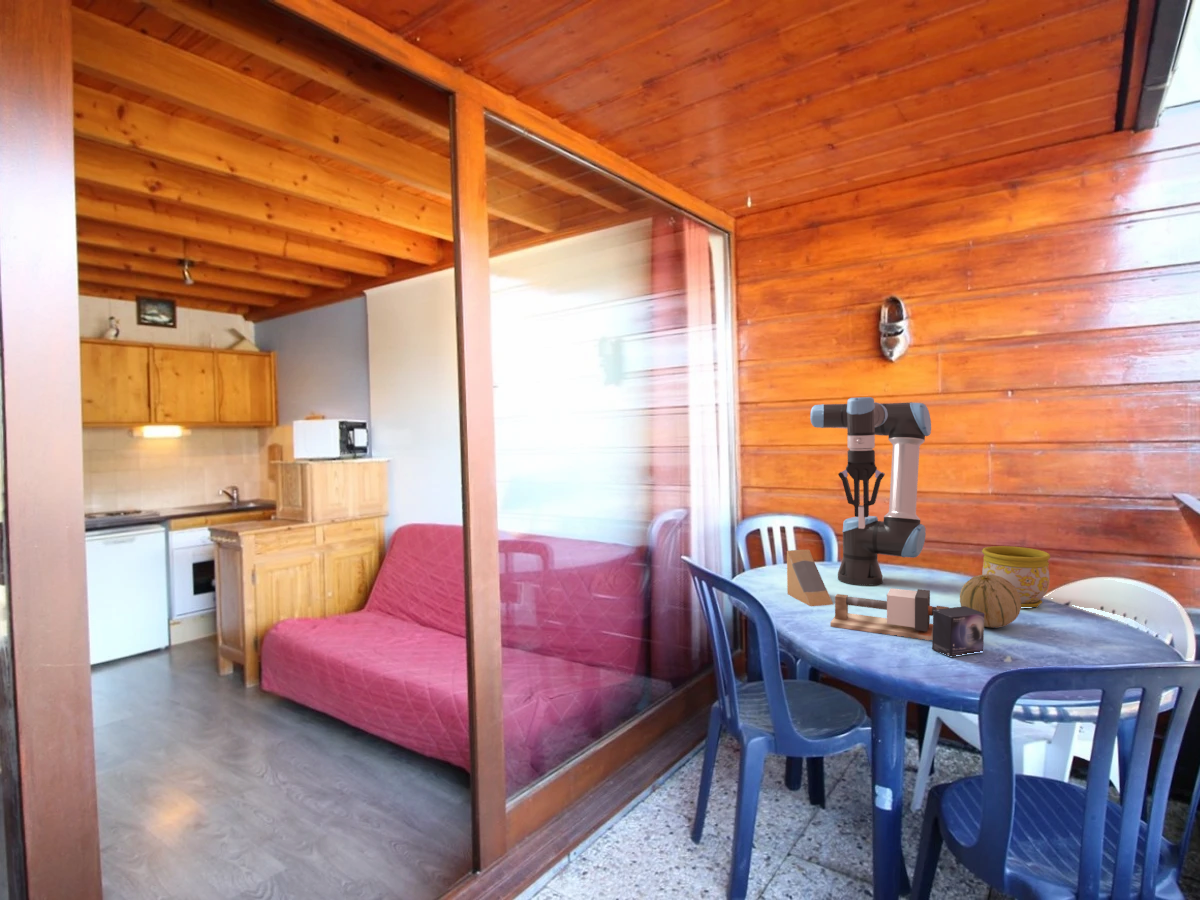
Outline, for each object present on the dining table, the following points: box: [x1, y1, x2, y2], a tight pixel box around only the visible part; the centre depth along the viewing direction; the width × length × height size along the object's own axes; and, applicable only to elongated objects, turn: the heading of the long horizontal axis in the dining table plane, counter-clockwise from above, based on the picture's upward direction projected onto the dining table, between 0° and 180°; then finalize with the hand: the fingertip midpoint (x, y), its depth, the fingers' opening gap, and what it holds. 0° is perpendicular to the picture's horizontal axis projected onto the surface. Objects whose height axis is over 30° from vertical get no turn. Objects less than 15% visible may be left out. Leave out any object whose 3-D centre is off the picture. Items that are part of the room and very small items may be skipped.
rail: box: [830, 593, 950, 641], centre depth 181 cm, size 30×11×8 cm, turn 59°
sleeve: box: [886, 588, 917, 628], centre depth 179 cm, size 7×8×8 cm
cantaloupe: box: [959, 574, 1021, 629], centre depth 182 cm, size 15×15×15 cm
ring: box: [915, 588, 931, 632], centre depth 177 cm, size 3×9×9 cm, turn 149°
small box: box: [931, 606, 985, 656], centre depth 163 cm, size 11×6×10 cm, turn 106°
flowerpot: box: [981, 545, 1051, 608], centre depth 203 cm, size 18×18×16 cm
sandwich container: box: [786, 549, 834, 607], centre depth 212 cm, size 9×15×15 cm, turn 12°
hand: (861, 527), depth 194 cm, fingers closed
